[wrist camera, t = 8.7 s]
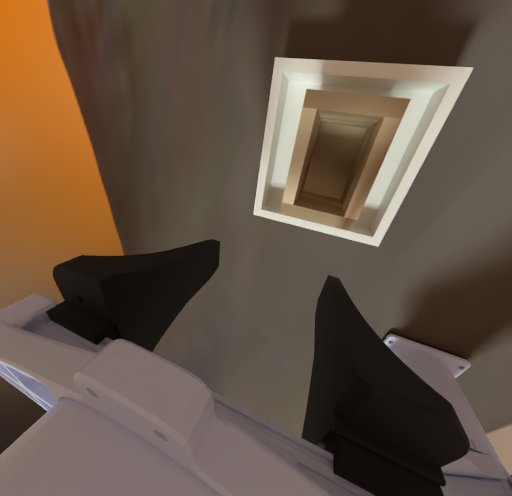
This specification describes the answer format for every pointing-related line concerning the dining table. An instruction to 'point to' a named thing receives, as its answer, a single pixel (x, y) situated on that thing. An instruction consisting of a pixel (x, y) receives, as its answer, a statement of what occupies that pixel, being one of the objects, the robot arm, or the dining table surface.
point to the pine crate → (339, 154)
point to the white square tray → (400, 151)
